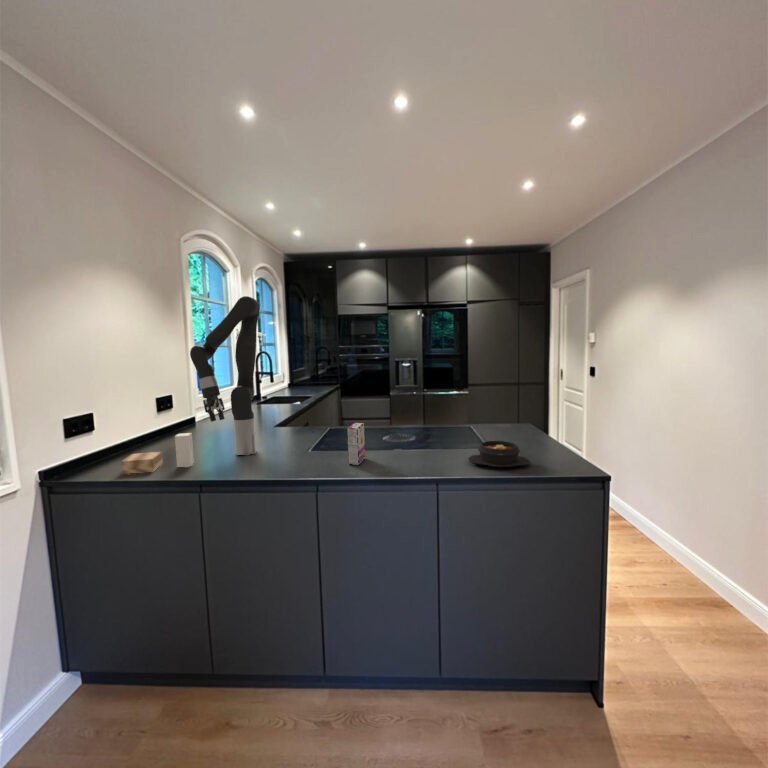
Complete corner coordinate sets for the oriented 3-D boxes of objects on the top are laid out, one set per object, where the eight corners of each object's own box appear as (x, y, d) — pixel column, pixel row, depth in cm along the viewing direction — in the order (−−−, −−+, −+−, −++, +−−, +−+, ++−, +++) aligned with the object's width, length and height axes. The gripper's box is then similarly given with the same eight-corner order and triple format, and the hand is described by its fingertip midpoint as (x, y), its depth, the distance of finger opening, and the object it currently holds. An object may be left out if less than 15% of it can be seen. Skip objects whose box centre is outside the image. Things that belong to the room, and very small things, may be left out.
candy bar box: (355, 458, 183) (353, 422, 181) (365, 458, 182) (364, 422, 180) (347, 465, 172) (346, 427, 170) (359, 466, 171) (358, 428, 169)
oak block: (162, 464, 181) (161, 451, 180) (153, 472, 169) (152, 459, 169) (133, 467, 178) (132, 453, 178) (122, 475, 167) (120, 461, 166)
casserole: (469, 470, 162) (469, 450, 161) (467, 457, 180) (467, 439, 179) (534, 472, 158) (534, 451, 157) (525, 458, 176) (525, 440, 175)
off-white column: (193, 463, 181) (191, 432, 179) (190, 466, 175) (188, 435, 174) (180, 464, 180) (178, 433, 178) (177, 468, 174) (174, 436, 173)
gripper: (209, 385, 182) (218, 419, 181) (223, 385, 196) (232, 417, 196) (194, 389, 182) (202, 423, 182) (209, 389, 196) (217, 421, 196)
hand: (218, 420), depth 189 cm, fingers open, 8 cm apart
